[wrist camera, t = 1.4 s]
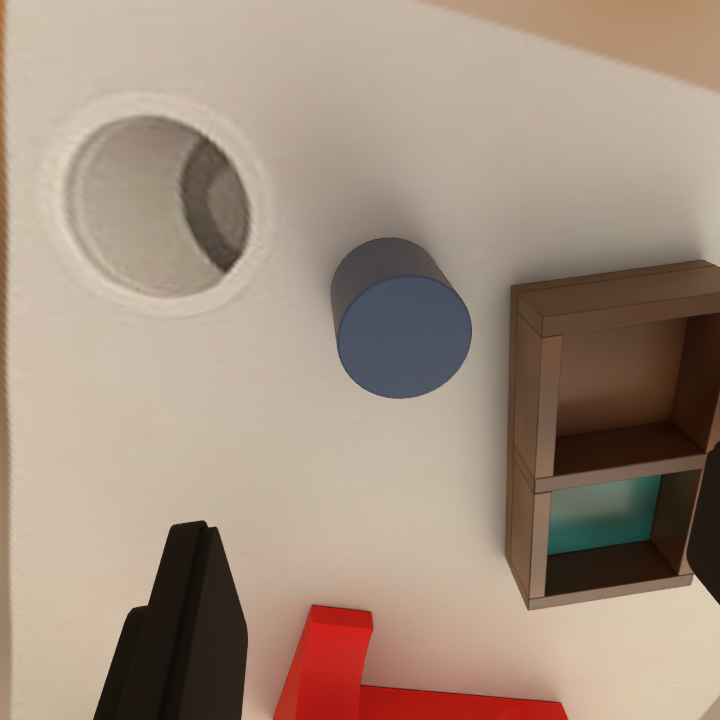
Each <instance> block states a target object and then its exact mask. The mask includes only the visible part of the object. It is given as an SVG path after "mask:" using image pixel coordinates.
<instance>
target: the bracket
mask: <svg viewBox="0 0 720 720" xmlns="http://www.w3.org/2000/svg"><path fill="white" fill-rule="evenodd" d="M372 632H373V622H372V614H371V612H365V611H356V610H348V609H339V608H330V607H322V606H313V605H312V607H311V610H310V613H309V615H308V618H307V621H306V624H305V627H304V630H303V633H302V636H301V639H300V642H299V644H298V647H297V650H296V653H295V656H294V659H293V662H292V665H291V668H290V671H289V674H288V676H287V679H286V682H285V685H284V688H283V691H282V694H281V697H280V700H279V703H278V706H277V708H276V711H275V714H274V717H273V720H568V718H567V715H566V713H565V711H564V708H563V706H562V703H553V702H542V701H530V700H518V699H507V698H495V697H484V696H472V695H461V694H449V693H438V692H426V691H414V690H403V689H391V688H380V687H368V686H361V679H362V672H363V666H364V660H365V655H366V651H367V647H368V644H369V640H370V637H371V634H372Z"/></svg>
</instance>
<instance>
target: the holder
mask: <svg viewBox="0 0 720 720" xmlns="http://www.w3.org/2000/svg"><path fill="white" fill-rule="evenodd" d="M718 441H720V267H718V266H716V265H714V264H712V263H709V262H707V261H705V260H700V261H693V262H685V263H678V264H670V265H663V266H656V267H648V268H641V269H634V270H626V271H619V272H611V273H604V274H597V275H589V276H582V277H575V278H567V279H560V280H552V281H545V282H538V283H530V284H523V285H516V286H511V319H510V367H509V415H508V463H507V511H506V560H507V562H508V565H509V567H510V569H511V572H512V574H513V577H514V579H515V581H516V584H517V586H518V588H519V591H520V593H521V595H522V598H523V600H524V602H525V605H526V607H527V610H528V611H529V610H536V609H542V608H548V607H555V606H561V605H568V604H574V603H580V602H587V601H593V600H600V599H606V598H612V597H619V596H625V595H631V594H638V593H644V592H651V591H657V590H663V589H670V588H676V587H683V586H689V585H691V583H692V579H693V575H694V574H693V571H692V570H691V568H690V566H689V564H688V561H687V557H686V550H687V546H688V541H689V536H690V532H691V527H692V523H693V518H694V513H695V509H696V504H697V500H698V495H699V490H700V486H701V481H702V477H703V472H704V467H705V463H706V458H707V455H708V452H709V451H711V450H713V449H714V446H715V444H716V443H717V442H718Z"/></svg>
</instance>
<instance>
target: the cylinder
mask: <svg viewBox="0 0 720 720" xmlns="http://www.w3.org/2000/svg"><path fill="white" fill-rule="evenodd" d="M331 304H332V312H333V319H334V327H335V334H336V342H337V349H338V354H339V358H340V360H341V363H342V365H343V367H344V369H345V371H346V372H347V373H348V375H349V376H350V377H351V378H352V379H353V380H354V381H355V382H356V383H357V384H358V385H359V386H361V387H362V388H364V389H365V390H367V391H369V392H371V393H374V394H376V395H379V396H383V397H387V398H398V399H403V398H412V397H417V396H420V395H423V394H426V393H429V392H431V391H433V390H435V389H437V388H438V387H440V386H442V385H443V384H444V383H446V382H447V381H448V380H449V379H450V378H451V377H452V376H453V375H454V374H455V373H456V372H457V371H458V370H459V368H460V367H461V365H462V364H463V362H464V360H465V358H466V356H467V354H468V351H469V348H470V343H471V338H472V326H471V319H470V315H469V312H468V310H467V307H466V306H465V304H464V302H463V300H462V299H461V298H460V296H459V295H458V294H457V292H456V291H455V289H454V288H453V287H452V285H451V284H450V283H449V281H448V280H447V278H446V277H445V276H444V274H443V273H442V272H441V270H440V269H439V267H438V266H437V265H436V263H435V262H434V261H433V259H432V258H431V257H430V256H429V254H428V253H426V252H425V251H424V250H423V249H422V248H420V247H419V246H417V245H415V244H413V243H411V242H409V241H406V240H402V239H397V238H382V239H377V240H373V241H370V242H367V243H365V244H363V245H361V246H359V247H357V248H356V249H354V250H353V251H352V252H351V253H349V254H348V255H347V256H346V257H345V259H344V260H343V261H342V262H341V264H340V265H339V267H338V268H337V270H336V272H335V275H334V278H333V280H332V285H331Z"/></svg>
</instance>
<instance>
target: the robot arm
mask: <svg viewBox="0 0 720 720" xmlns="http://www.w3.org/2000/svg"><path fill="white" fill-rule="evenodd" d="M686 557H687V561H688V564H689V566H690V568H691V570H692V571H693V573H694V574H695V575H696V576H697V578H698V579H699V580H700V581H701V583H702V584H703V585H704V586H705V587H706V589H707V590H708V591H709V592H710V594H711V595H712V596H713V597H714V599H715V600H716V601H717V602H718V603H719V605H720V441H718V442H717V443H716V444H715V446H714V449H713V450H711V451H709V452H708V455H707V458H706V463H705V467H704V472H703V477H702V481H701V486H700V490H699V495H698V500H697V504H696V509H695V513H694V518H693V523H692V527H691V532H690V536H689V541H688V546H687V550H686ZM247 648H248V632H247V625H246V621H245V618H244V614H243V611H242V608H241V604H240V601H239V598H238V594H237V591H236V588H235V584H234V581H233V578H232V574H231V571H230V568H229V564H228V561H227V558H226V554H225V551H224V547H223V544H222V541H221V537H220V534H219V531H218V529H217V527H209V528H208V526H207V523H206V522H205V521H204V520H201V521H195V522H188V523H182V524H175V525H173V526H171V528H170V531H169V534H168V537H167V541H166V544H165V548H164V551H163V554H162V558H161V561H160V565H159V568H158V572H157V575H156V579H155V582H154V586H153V589H152V593H151V596H150V600H149V603H148V605H147V606H141V607H136V608H133V609H132V610H131V611H130V612H129V613H128V615H127V618H126V620H125V622H124V625H123V629H122V632H121V635H120V638H119V641H118V644H117V647H116V650H115V653H114V656H113V660H112V663H111V666H110V669H109V672H108V675H107V678H106V681H105V684H104V688H103V691H102V694H101V697H100V700H99V703H98V706H97V709H96V712H95V715H94V719H93V720H241V716H242V704H243V693H244V682H245V670H246V659H247Z"/></svg>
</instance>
